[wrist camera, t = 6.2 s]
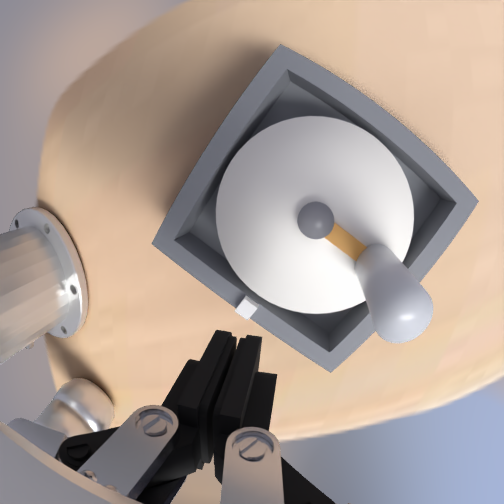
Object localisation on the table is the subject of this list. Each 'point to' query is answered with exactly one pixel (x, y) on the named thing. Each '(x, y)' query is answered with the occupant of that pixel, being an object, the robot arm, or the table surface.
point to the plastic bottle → (78, 409)
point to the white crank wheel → (323, 224)
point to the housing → (274, 111)
